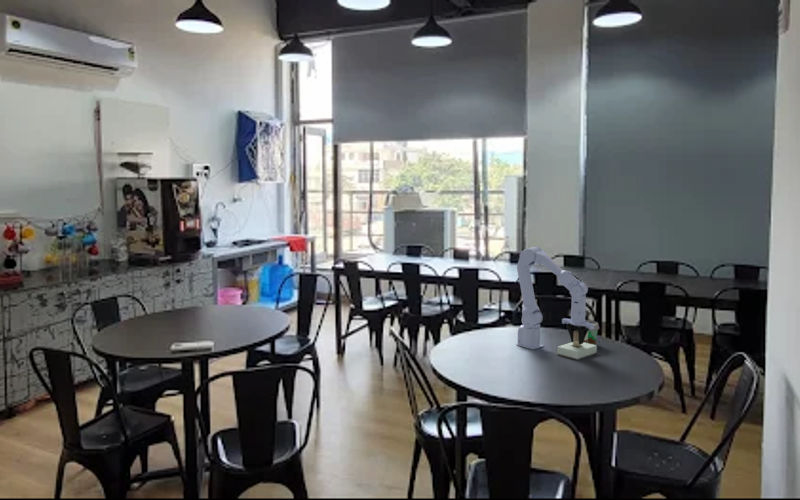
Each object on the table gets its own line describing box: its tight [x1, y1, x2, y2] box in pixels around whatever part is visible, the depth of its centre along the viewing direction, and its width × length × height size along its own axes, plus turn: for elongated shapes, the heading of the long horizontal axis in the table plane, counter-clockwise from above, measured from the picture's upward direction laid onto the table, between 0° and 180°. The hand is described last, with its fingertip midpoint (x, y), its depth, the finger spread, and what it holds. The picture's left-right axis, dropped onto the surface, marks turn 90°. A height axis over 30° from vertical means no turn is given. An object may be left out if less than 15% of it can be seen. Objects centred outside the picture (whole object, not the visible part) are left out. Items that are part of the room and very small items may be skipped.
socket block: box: [556, 341, 598, 361], centre depth 268 cm, size 10×14×4 cm
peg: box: [573, 329, 581, 348], centre depth 267 cm, size 3×3×8 cm
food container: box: [584, 319, 600, 345], centre depth 282 cm, size 12×6×10 cm, turn 179°
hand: (577, 342), depth 268 cm, fingers closed on peg, 3 cm apart
